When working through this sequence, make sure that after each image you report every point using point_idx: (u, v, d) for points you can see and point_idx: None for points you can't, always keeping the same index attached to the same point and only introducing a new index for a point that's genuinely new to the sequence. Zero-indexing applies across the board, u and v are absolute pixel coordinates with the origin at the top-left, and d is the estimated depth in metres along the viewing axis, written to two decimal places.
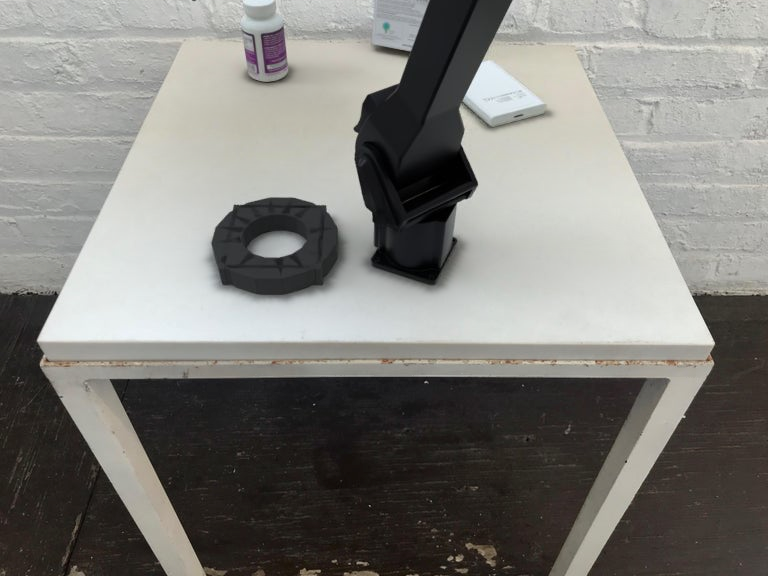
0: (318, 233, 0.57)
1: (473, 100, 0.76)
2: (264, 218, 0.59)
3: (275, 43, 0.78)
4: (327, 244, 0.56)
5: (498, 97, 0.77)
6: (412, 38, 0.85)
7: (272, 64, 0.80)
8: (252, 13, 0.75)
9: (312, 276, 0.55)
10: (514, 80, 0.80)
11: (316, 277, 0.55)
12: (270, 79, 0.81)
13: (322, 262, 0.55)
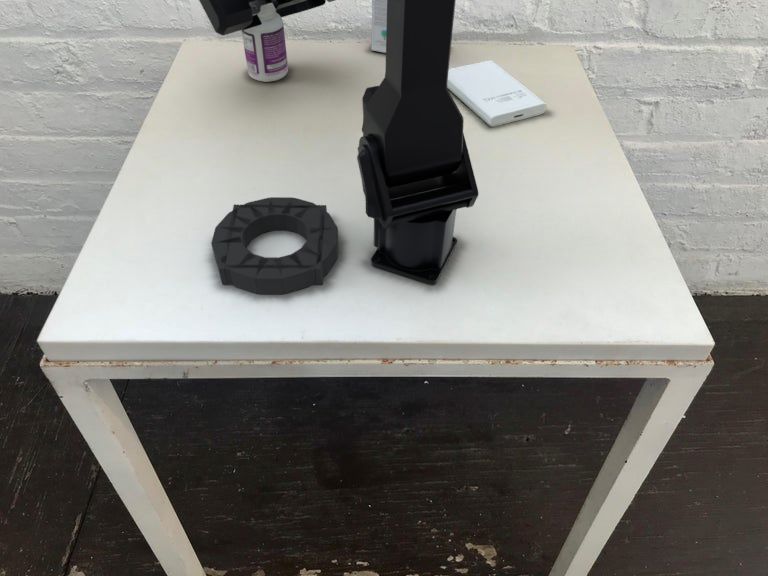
0: (318, 233, 0.57)
1: (473, 100, 0.76)
2: (264, 218, 0.59)
3: (275, 43, 0.78)
4: (327, 244, 0.56)
5: (498, 97, 0.77)
6: None
7: (272, 64, 0.80)
8: None
9: (312, 276, 0.55)
10: (514, 80, 0.80)
11: (316, 277, 0.55)
12: (270, 79, 0.81)
13: (322, 262, 0.55)
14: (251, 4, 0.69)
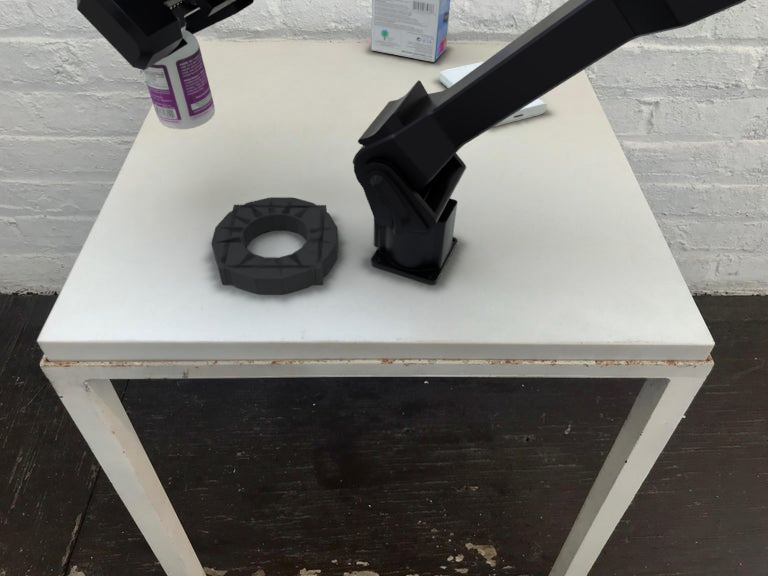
0: (318, 233, 0.57)
1: None
2: (264, 218, 0.59)
3: (197, 71, 0.55)
4: (327, 244, 0.56)
5: None
6: (411, 45, 0.85)
7: (197, 101, 0.56)
8: None
9: (312, 276, 0.55)
10: None
11: (316, 277, 0.55)
12: (198, 123, 0.57)
13: (322, 262, 0.55)
14: None
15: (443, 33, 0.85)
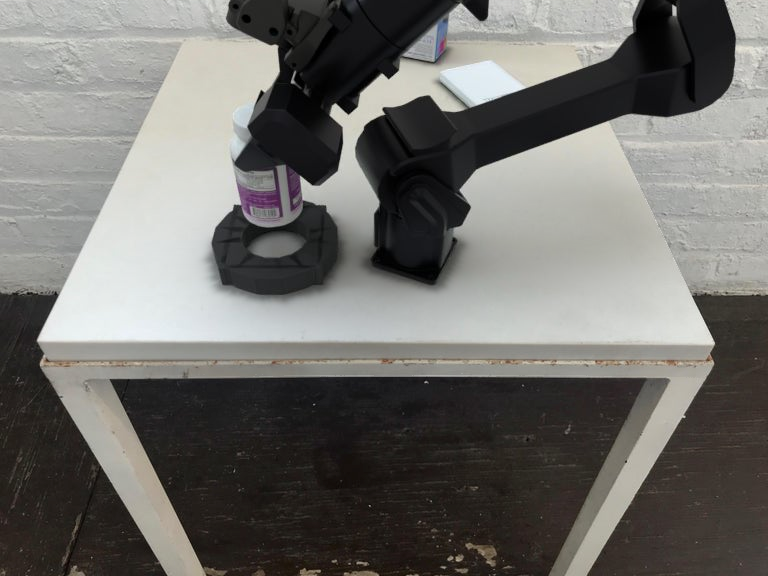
0: (318, 233, 0.57)
1: (473, 100, 0.76)
2: None
3: None
4: (327, 244, 0.56)
5: (498, 97, 0.77)
6: None
7: (297, 195, 0.53)
8: None
9: (312, 276, 0.55)
10: (514, 80, 0.80)
11: (316, 277, 0.55)
12: (296, 216, 0.54)
13: (322, 262, 0.55)
14: None
15: (443, 33, 0.85)
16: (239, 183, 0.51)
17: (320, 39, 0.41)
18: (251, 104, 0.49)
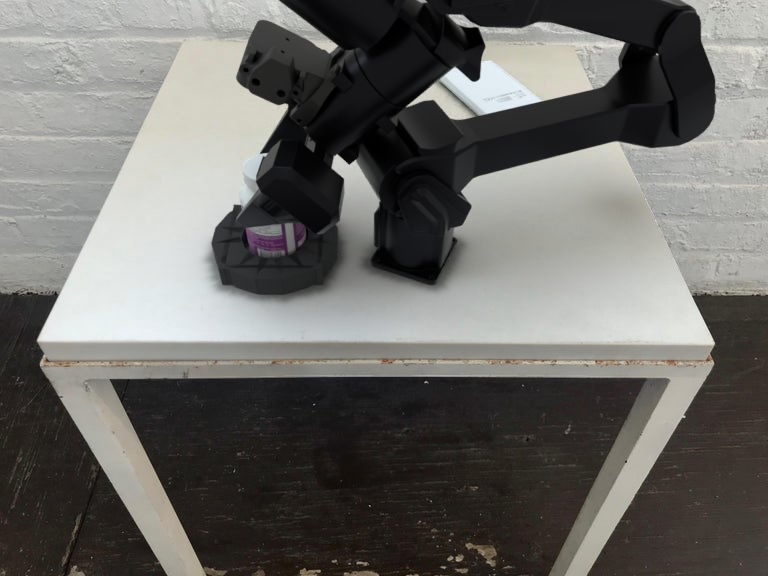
0: None
1: (473, 100, 0.76)
2: None
3: None
4: (327, 244, 0.56)
5: (498, 97, 0.77)
6: None
7: (302, 237, 0.56)
8: None
9: (312, 276, 0.55)
10: (514, 80, 0.80)
11: (316, 277, 0.55)
12: None
13: (322, 262, 0.55)
14: None
15: None
16: (248, 228, 0.55)
17: (324, 98, 0.44)
18: (260, 155, 0.53)
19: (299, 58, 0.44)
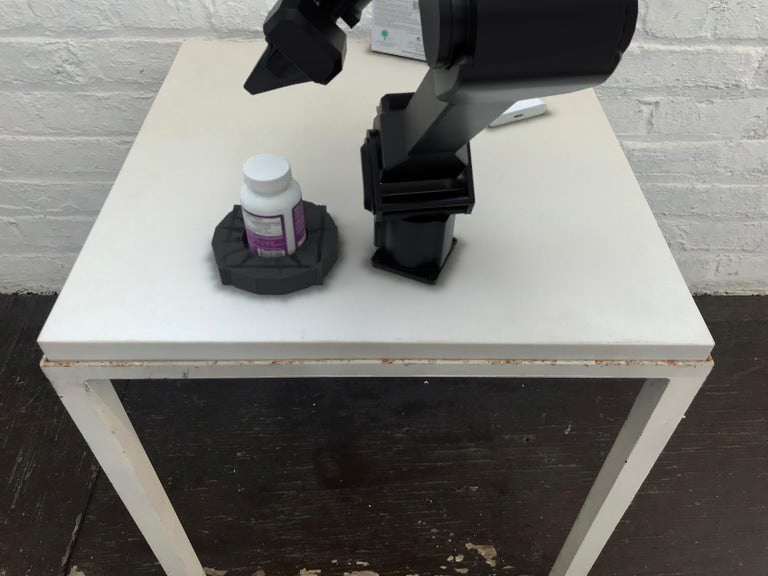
0: (318, 233, 0.57)
1: None
2: None
3: (302, 210, 0.55)
4: (327, 244, 0.56)
5: None
6: (411, 45, 0.85)
7: (302, 237, 0.56)
8: (276, 187, 0.51)
9: (312, 276, 0.55)
10: None
11: (316, 277, 0.55)
12: None
13: (322, 262, 0.55)
14: None
15: None
16: (248, 228, 0.55)
17: None
18: (260, 155, 0.53)
19: None
